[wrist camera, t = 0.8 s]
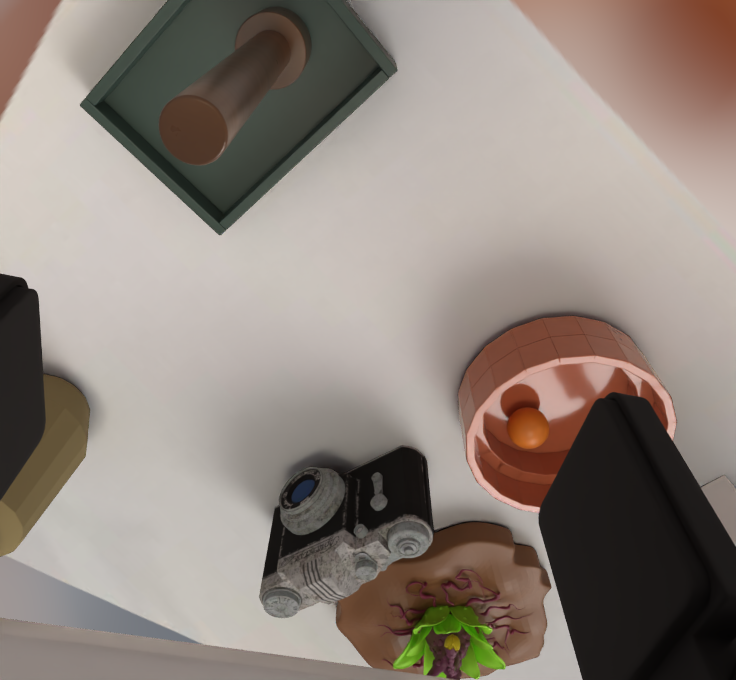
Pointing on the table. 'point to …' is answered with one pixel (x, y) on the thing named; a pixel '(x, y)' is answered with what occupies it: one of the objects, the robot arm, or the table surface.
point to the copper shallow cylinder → (546, 399)
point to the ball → (528, 428)
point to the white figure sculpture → (723, 503)
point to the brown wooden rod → (235, 86)
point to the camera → (345, 529)
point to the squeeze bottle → (46, 462)
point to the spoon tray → (267, 122)
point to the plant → (452, 607)
